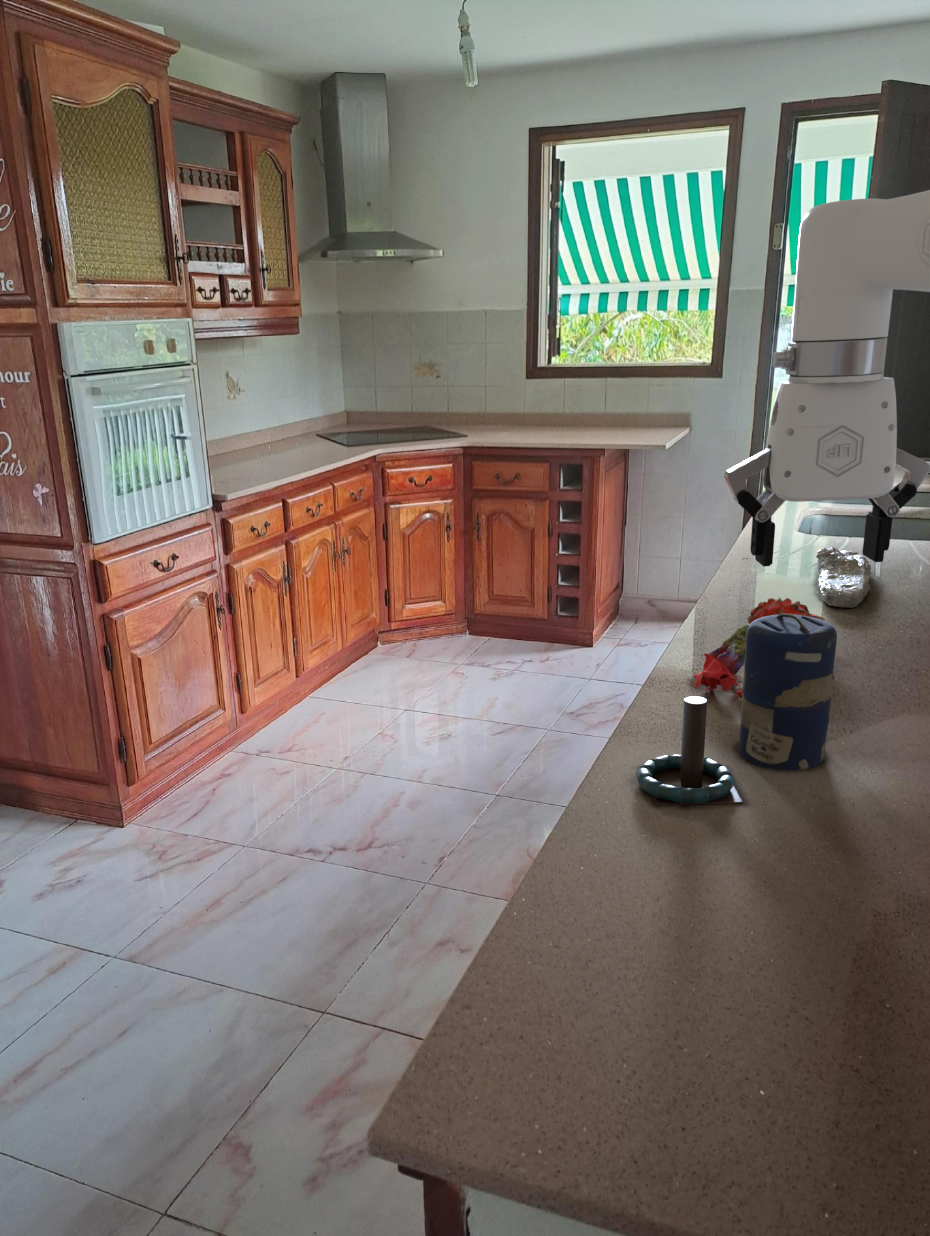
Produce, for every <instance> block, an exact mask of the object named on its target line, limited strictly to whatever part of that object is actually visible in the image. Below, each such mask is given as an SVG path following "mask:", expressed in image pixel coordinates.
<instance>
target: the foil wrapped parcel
mask: <svg viewBox="0 0 930 1236" xmlns="http://www.w3.org/2000/svg"><path fill="white" fill-rule="evenodd" d="M815 557H816V559H817V571H818V578H817V583H816V585H817V590H818V595H820V600H821V602H824V603H825V604H827V605H828V606H832V607H836V608H845V609H854V608H857V607H858V606H859V605H860V604H861V603H862V602H863V601H864V599H865V598H866V597H867V595H868V592H869V591H870V590H871V584H869V583H870V580H871V579H870V578H871V573H872V572H871V570H872V565H871V564H869V560H867V557H866V556H864V555H863V554H861V553H859V552H857V551H854V550H847V549H846V550H845V549H839V548H836V547H833V546H832V547H830V548H826V547H822V548H821V549H819V550H817V552H816V555H815Z"/></svg>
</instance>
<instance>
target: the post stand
mask: <svg viewBox="0 0 930 1236" xmlns="http://www.w3.org/2000/svg"><path fill="white" fill-rule="evenodd" d="M707 711H708V699H707V698H705V697H702V696H699V695H698V696H697V695H692V696H687V697H685V698H684V699H683V710H682V728H681V730H682V732H681V734H682V735H681V750H680V752H681V753H680V755H681V769H667V770H664V771H660V772H657V773H655V774H654V775H653V776H652V778H653V779H655V780H656V781H658V782H660V783H662V784H664V785H669V786H674V787H679V788H704V787H707V786H710V785H713V784H716V783H717V782H718V780H717V778H715V777H713V776H711V775H709V774H707V773H705V772H703V765H704V758H705V746H706V728H707V727H706V726H707ZM652 796H653V795H652ZM653 799H654V802H655V804H656V806H674V805H675V806H677V805H678V806H679V805H680V806H681V805H684V806H685V805H724V804H725V805H727V804H729V805H731V804H734V805H735V804H736V805H737V804H743V803H744V801H743V800H742V797H741V796H740V795H739V792H738V791H737V789H736V788H735V785H734V786H733V787H732V789H731V790H730V791H729V793H728V794H727V795H726V796H725V797H723V798H719V799H716V800H713V801H710V802H707V803H677V802H672V801H668V800H663V799H659V798H657V797H655V796H653Z"/></svg>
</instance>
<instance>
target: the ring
mask: <svg viewBox="0 0 930 1236" xmlns="http://www.w3.org/2000/svg"><path fill="white" fill-rule="evenodd" d="M667 769H681V754H666V755H661V756H658V757H654V758H652V759H651V758H650V759H647V760H646V761H645V762H644V763H643V764H642V765H641V766H639V768H638V769H637V770H636V773H635V777H636V779H637V782H638V785H639V788H640V789H641V790H643V791H644V792H646V793H647V794H650V795H651V796H655V797H657V798H659V799H663V800H668V801H672V802H677V803H707V802H710V801H713V800H716V799H719V798H723V797H725V796H726V795H727V794H728V793H729V791H730V790H731V789H732V787H733V786H734V787H735V783H736V781H735V778H734V776H733V774H732V773H731V771H730V769H729V768H728V767H727V766H725V765H724V764H721V763H719V762H717V761H715V760H713V759H711V758H707V757H704V765H703V772H705V773H707V774H709V775H711V776H713V777H715V778H717V780H718V782H717V783H716V784H713V785H710V786H707V787H704V788H679V787H674V786H669V785H664V784H662V783H660V782H658V781H656V780H655V779H653V778H652V776H653V775H654V774H655V773H657V772H660V771H664V770H667Z"/></svg>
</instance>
